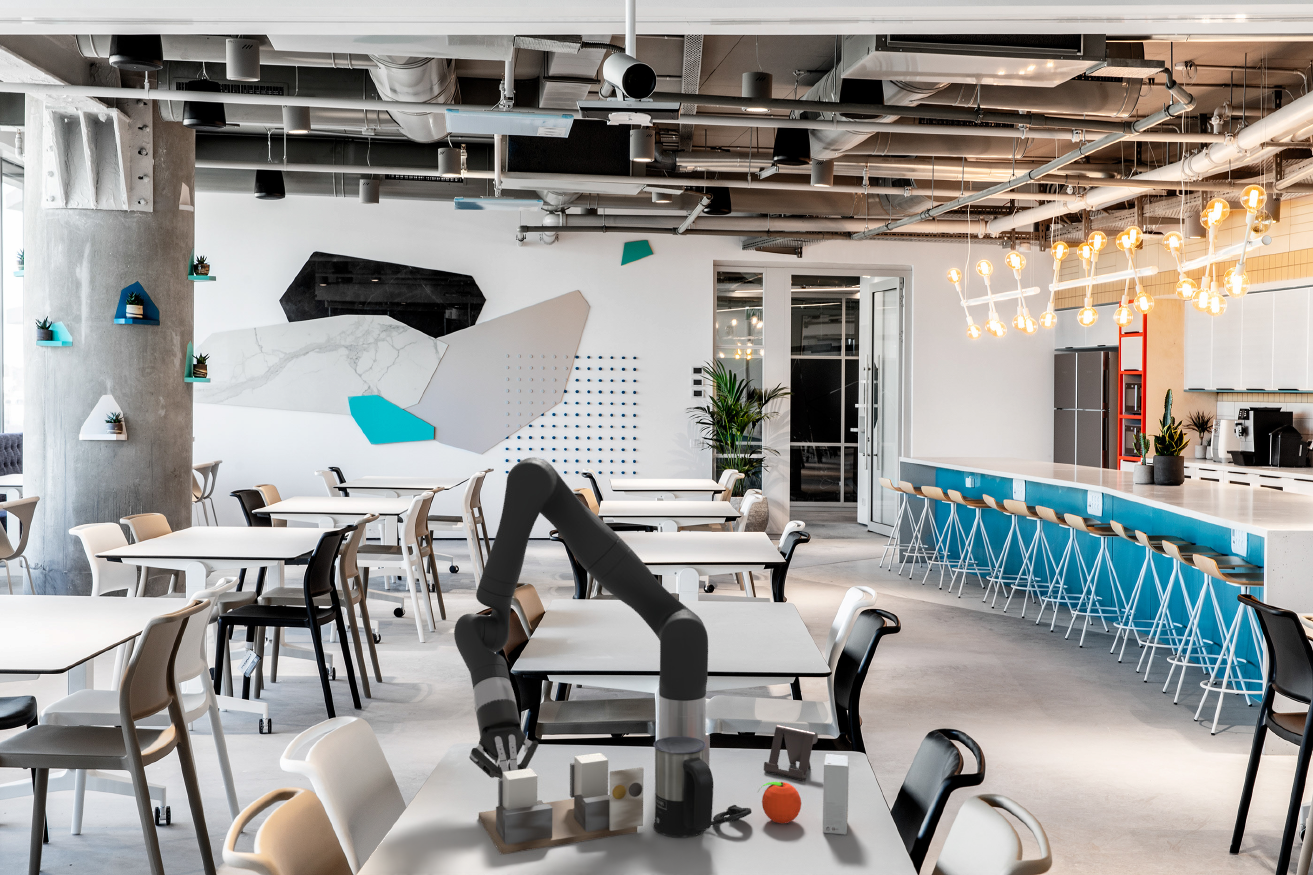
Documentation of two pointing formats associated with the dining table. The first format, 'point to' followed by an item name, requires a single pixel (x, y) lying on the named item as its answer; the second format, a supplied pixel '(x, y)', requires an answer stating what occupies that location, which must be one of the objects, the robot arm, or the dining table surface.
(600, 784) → the button
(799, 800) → the clementine
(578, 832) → the button board
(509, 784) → the button
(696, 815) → the milk frother
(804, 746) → the portable electronic device stand
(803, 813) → the dining table surface
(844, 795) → the skincare box
